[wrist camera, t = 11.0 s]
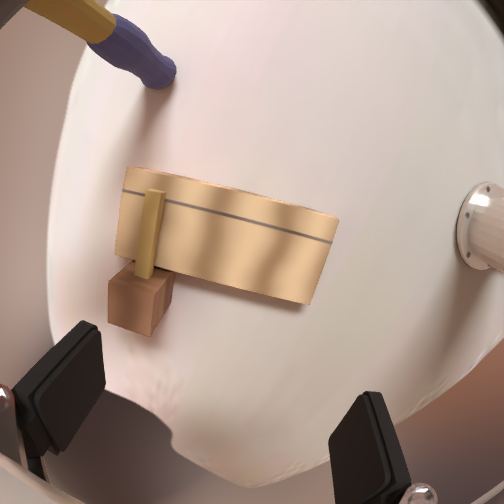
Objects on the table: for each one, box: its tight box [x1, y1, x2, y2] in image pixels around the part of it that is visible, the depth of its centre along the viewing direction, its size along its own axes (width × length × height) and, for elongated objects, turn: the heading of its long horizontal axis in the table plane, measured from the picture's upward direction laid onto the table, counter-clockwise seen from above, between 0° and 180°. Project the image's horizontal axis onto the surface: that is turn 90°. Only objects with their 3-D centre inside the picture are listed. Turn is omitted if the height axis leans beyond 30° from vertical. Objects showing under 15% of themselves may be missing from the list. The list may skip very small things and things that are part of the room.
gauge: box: [108, 189, 175, 337], centre depth 29 cm, size 5×14×8 cm, turn 166°
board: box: [115, 167, 339, 305], centre depth 31 cm, size 23×10×3 cm, turn 75°
